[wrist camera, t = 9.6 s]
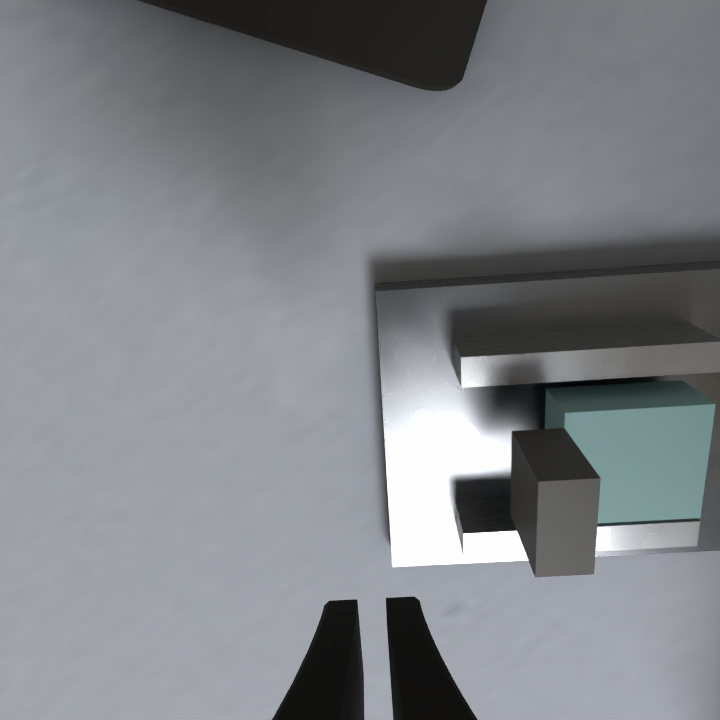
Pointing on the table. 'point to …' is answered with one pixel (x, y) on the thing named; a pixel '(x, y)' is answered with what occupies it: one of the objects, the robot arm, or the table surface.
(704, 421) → the teal and grey block
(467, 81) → the table surface
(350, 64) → the smart home device
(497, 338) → the press bed
